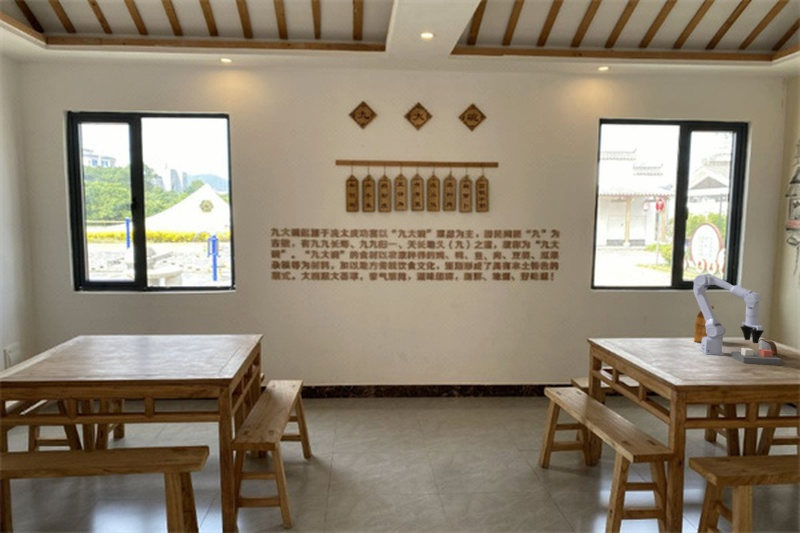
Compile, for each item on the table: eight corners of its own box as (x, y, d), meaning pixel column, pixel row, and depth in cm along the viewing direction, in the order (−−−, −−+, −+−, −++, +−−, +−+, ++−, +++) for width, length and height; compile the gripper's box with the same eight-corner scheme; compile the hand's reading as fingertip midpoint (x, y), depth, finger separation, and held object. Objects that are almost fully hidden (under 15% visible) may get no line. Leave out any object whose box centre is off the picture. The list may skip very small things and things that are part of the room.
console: (743, 363, 261) (744, 357, 261) (731, 356, 273) (731, 351, 273) (781, 365, 259) (782, 359, 259) (767, 358, 271) (768, 353, 270)
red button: (763, 357, 263) (764, 350, 263) (759, 355, 267) (759, 348, 267) (772, 357, 263) (772, 351, 263) (767, 355, 267) (768, 349, 266)
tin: (776, 359, 271) (778, 343, 270) (770, 358, 272) (771, 343, 271) (762, 351, 286) (764, 337, 285) (756, 351, 286) (758, 336, 285)
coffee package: (719, 342, 304) (722, 306, 302) (708, 345, 298) (711, 308, 296) (702, 339, 313) (705, 304, 311) (691, 341, 307) (693, 305, 304)
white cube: (745, 356, 265) (745, 349, 264) (740, 354, 268) (741, 347, 268) (753, 356, 264) (753, 350, 264) (749, 354, 268) (749, 348, 268)
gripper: (768, 318, 257) (767, 344, 257) (752, 313, 271) (751, 338, 272) (753, 317, 257) (752, 344, 258) (738, 313, 272) (737, 338, 273)
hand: (751, 341), depth 265 cm, fingers open, 7 cm apart
